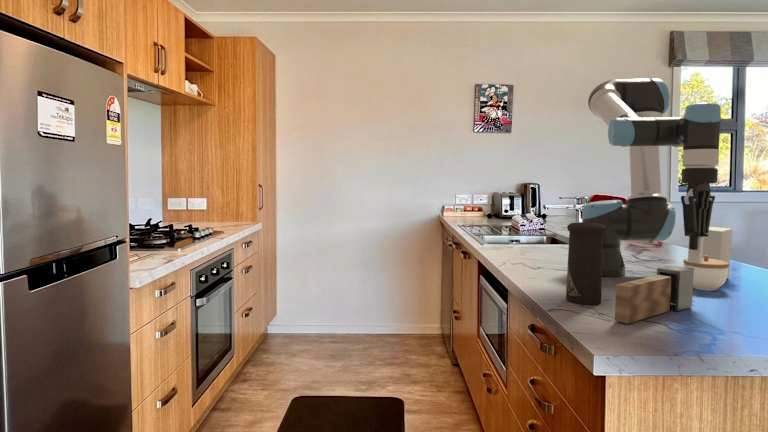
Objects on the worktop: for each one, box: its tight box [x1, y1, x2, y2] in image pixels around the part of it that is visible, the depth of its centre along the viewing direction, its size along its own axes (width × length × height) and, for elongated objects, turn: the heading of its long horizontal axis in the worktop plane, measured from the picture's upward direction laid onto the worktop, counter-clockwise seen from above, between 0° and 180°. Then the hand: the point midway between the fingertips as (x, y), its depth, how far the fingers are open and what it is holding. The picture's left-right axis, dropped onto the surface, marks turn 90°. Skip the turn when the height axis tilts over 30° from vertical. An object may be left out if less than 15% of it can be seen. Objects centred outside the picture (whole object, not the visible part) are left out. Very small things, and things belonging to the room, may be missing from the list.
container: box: [565, 221, 606, 306], centre depth 126 cm, size 9×9×20 cm
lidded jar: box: [683, 255, 729, 292], centre depth 141 cm, size 11×11×9 cm
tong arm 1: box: [614, 274, 663, 323], centre depth 113 cm, size 18×1×8 cm, turn 125°
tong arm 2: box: [620, 276, 671, 325], centre depth 112 cm, size 18×1×8 cm, turn 125°
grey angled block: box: [656, 264, 694, 312], centre depth 121 cm, size 7×5×9 cm
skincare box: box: [703, 226, 733, 280], centre depth 154 cm, size 8×7×16 cm
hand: (695, 262), depth 125 cm, fingers closed
